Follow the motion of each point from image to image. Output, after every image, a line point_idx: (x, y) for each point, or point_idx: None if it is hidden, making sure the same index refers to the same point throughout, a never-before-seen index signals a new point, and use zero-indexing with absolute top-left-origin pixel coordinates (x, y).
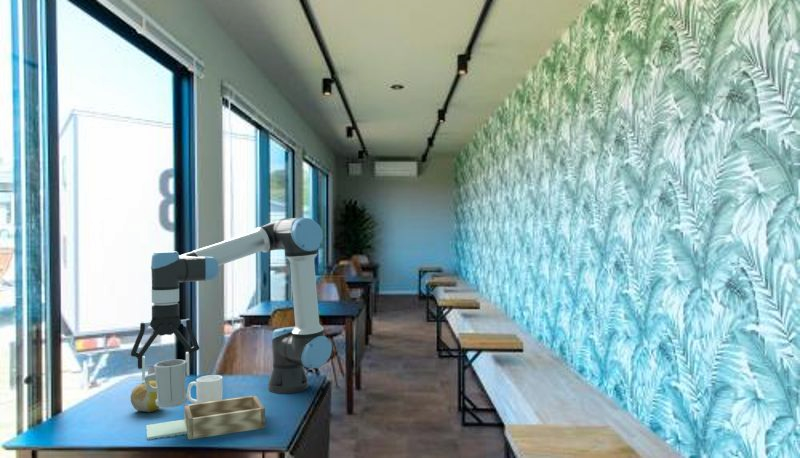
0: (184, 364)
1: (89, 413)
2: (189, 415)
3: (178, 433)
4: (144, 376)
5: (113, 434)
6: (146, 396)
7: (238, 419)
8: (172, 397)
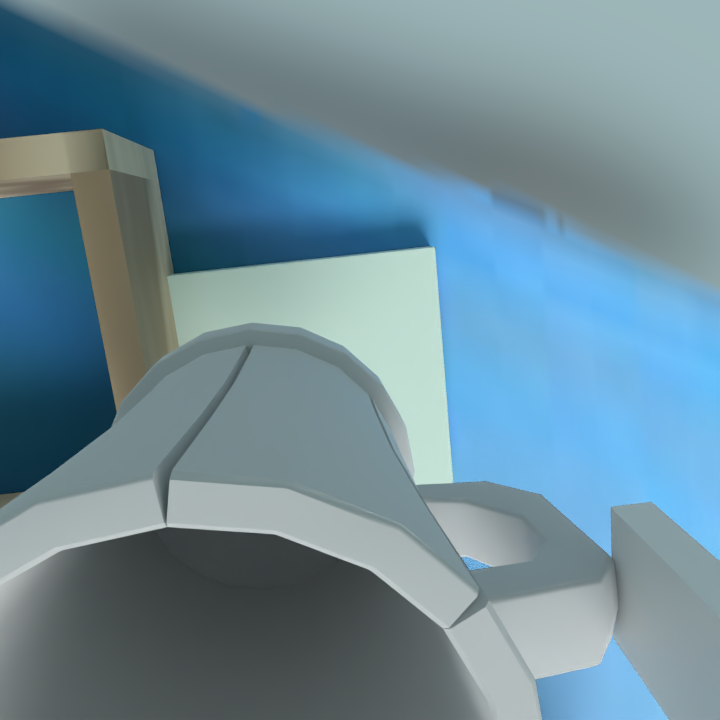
0: None
1: None
2: (105, 258)
3: (227, 270)
4: (649, 537)
5: (638, 461)
6: None
7: None
8: (233, 357)
